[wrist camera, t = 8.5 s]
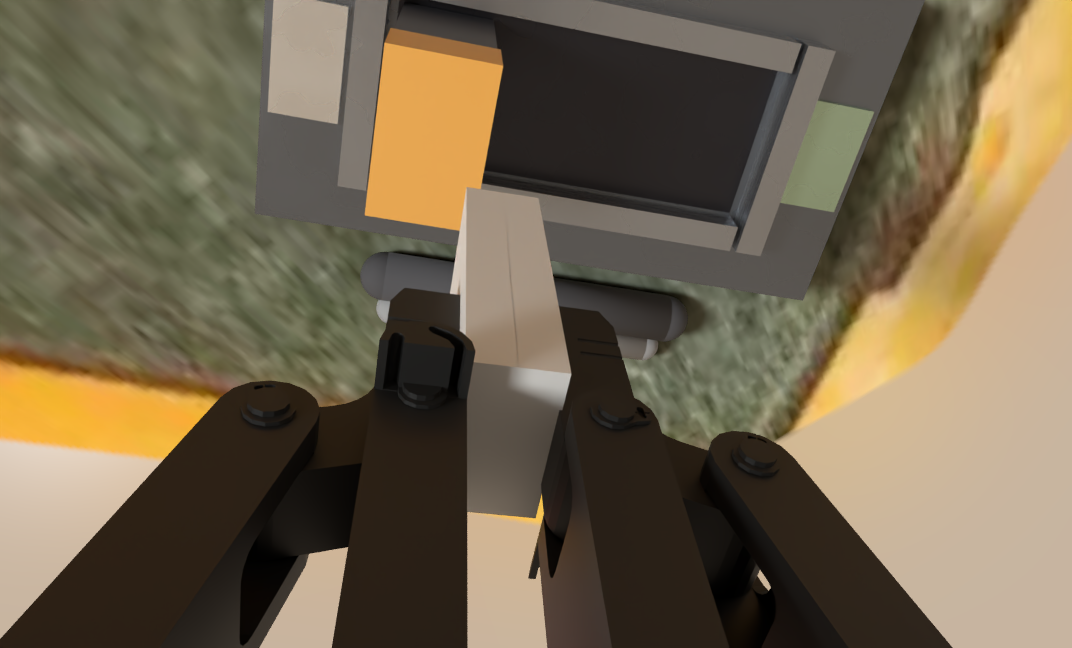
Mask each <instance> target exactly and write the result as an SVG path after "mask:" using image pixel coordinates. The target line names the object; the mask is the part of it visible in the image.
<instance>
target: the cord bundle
mask: <svg viewBox="0 0 1072 648" xmlns="http://www.w3.org/2000/svg"><path fill="white" fill-rule="evenodd" d="M454 264H455V262H450V261H443V260H437V259H430V258H424V257H417V256H411V255H404V254H398V253H392V252H379V253H376V254H374V255H372V256H370V257H369V258H368V259H367V260H366V261H365V263H364V264H363V266H362V269H361V276H360V277H361V283H362V286H363V288H364V289H365V291H366V292H367V293H368V294H369V295H370V296H372V297H374V298H376V299H379V301H378V303H377V313H378V316H379V317H380V319H381V320H382V321H384V322H385V323H387V319H388V312H389V306H390V300H391V299H392V298H394V297H395V296H396V295H397V294H398V293H399V292H400V291H401V290H403V289H404V288H411V289H419V290H426V291H434V292H441V293H449V294H450V290H451V284H452V277H453V271H454ZM553 279H554V284H555V289H556V294H557V300H558V305H559V306H562V307H570V308H577V309H585V310H592V311H599V312H600V313H601V314H602V316H603V317H604V318H605V319H606V320H607V321H608V322H609V323H610V324H611V325H612V326H613V327H614V330H615V334H616V337H617V341H618V346H619V347H620V351H621V354H622V357H623V358H630V359H637V360H646V359H649V358H651V357H652V356H653V355H654V354H655V353H656V351H657V349H658V341H671V340H673V339H676V338H677V337H679V336H680V335H681V334H682V333H683V332H684V330H685V328H686V326H687V321H688V315H687V311H686V309H685V307H684V305H683V304H682V303H681V302H680V301H679V300H678V299H676V298H674V297H672V296H668V295H662V294H656V293H649V292H643V291H636V290H630V289H623V288H617V287H610V286H604V285H598V284H591V283H585V282H578V281H572V280H565V279H559V278H553Z"/></svg>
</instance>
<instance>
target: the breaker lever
mask: <svg viewBox="0 0 1072 648" xmlns="http://www.w3.org/2000/svg"><path fill="white" fill-rule="evenodd" d="M502 70H503V61H502V54H501V49H497V41H496V33H495V26H494V20H490V19H485V18H480V17H475V16H470V15H465V14H460V13H455V12H450V11H445V10H441V9H436V8H431V7H426V6H421V5H416V4H411V3H406V2H404V4H403V7H402V10H401V12H400V15H399V17H398V20H397V22H396V25H395V28H390V31H389V33H388V35H387V38H386V40H385V43H384V52H383V61H382V69H381V78H380V87H379V95H378V104H377V113H376V121H375V130H374V139H373V147H372V156H371V164H370V173H369V182H368V190H367V199H366V208H365V216H371V217H378V218H384V219H390V220H396V221H402V222H409V223H415V224H421V225H427V226H433V227H440V228H446V229H452V230H458V231H460V226H461V220H462V213H463V207H464V200H465V194H466V188H467V187H469V188H476V189H481V184H482V178H483V173H484V168H485V162H486V157H487V151H488V146H489V140H490V135H491V130H492V124H493V119H494V113H495V108H496V102H497V97H498V91H499V86H500V81H501V75H502Z"/></svg>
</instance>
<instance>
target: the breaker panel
mask: <svg viewBox="0 0 1072 648" xmlns="http://www.w3.org/2000/svg"><path fill="white" fill-rule="evenodd" d="M924 1H925V0H265V14H264V35H263V56H262V77H261V98H260V118H259V139H258V160H257V181H256V202H255V214H261V215H267V216H273V217H280V218H286V219H292V220H299V221H305V222H311V223H318V224H324V225H330V226H337V227H343V228H349V229H355V230H362V231H368V232H374V233H381V234H387V235H393V236H400V237H406V238H412V239H419V240H425V241H431V242H437V243H444V244H450V245H456V246H457V245H458V239H459V232H460V231H458V230H452V229H446V228H440V227H433V226H427V225H421V224H415V223H409V222H402V221H396V220H390V219H384V218H378V217H371V216H365V208H366V199H367V190H368V182H369V173H370V164H371V156H372V147H373V139H374V130H375V121H376V113H377V104H378V95H379V87H380V78H381V69H382V61H383V52H384V43H385V40H386V38H387V35H388V33H389V31H390V28H395V25H396V22H397V20H398V17H399V15H400V12H401V10H402V7H403V4H404V2H406V3H411V4H416V5H421V6H426V7H431V8H436V9H441V10H445V11H450V12H455V13H460V14H465V15H470V16H475V17H480V18H485V19H490V20H494V26H495V33H496V41H497V49H501V54H502V61H503V70H502V75H501V81H500V86H499V91H498V97H497V102H496V108H495V113H494V119H493V124H492V130H491V135H490V140H489V146H488V151H487V157H486V162H485V168H484V173H483V178H482V184H481V189H483V190H489V191H496V192H502V193H509V194H515V195H522V196H528V197H535V198H538V199H539V204H540V209H541V215H542V220H543V225H544V231H545V236H546V241H547V247H548V252H549V257H550V260H551V261H557V262H564V263H570V264H576V265H582V266H589V267H595V268H601V269H608V270H614V271H620V272H627V273H633V274H639V275H646V276H652V277H658V278H664V279H671V280H677V281H683V282H690V283H696V284H702V285H709V286H715V287H721V288H728V289H734V290H740V291H746V292H753V293H759V294H765V295H772V296H778V297H784V298H791V299H797V300H803V299H804V296H805V294H806V292H807V289H808V287H809V284H810V282H811V279H812V277H813V274H814V272H815V269H816V267H817V264H818V262H819V260H820V257H821V255H822V252H823V250H824V247H825V245H826V242H827V240H828V237H829V235H830V233H831V230H832V228H833V225H834V223H835V220H836V218H837V215H838V213H839V210H840V208H841V205H842V203H843V201H844V198H845V196H846V193H847V191H848V188H849V186H850V183H851V181H852V178H853V176H854V173H855V171H856V169H857V166H858V164H859V161H860V159H861V156H862V154H863V151H864V149H865V146H866V144H867V142H868V139H869V137H870V134H871V132H872V129H873V127H874V124H875V122H876V119H877V117H878V114H879V112H880V110H881V107H882V105H883V102H884V100H885V97H886V95H887V92H888V90H889V87H890V85H891V82H892V80H893V78H894V75H895V73H896V70H897V68H898V65H899V63H900V60H901V58H902V55H903V53H904V51H905V48H906V46H907V43H908V41H909V38H910V36H911V33H912V31H913V28H914V26H915V23H916V21H917V19H918V16H919V14H920V11H921V9H922V6H923V4H924Z"/></svg>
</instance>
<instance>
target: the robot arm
mask: <svg viewBox="0 0 1072 648" xmlns="http://www.w3.org/2000/svg"><path fill="white" fill-rule="evenodd" d="M541 494H542V499H543V509H544V516H543V520H542V524H541V528H540V532H539V536H538V539H537V543H536V547H535V551H534V556H533V559H532V563H531V567H530V573H529V578H530V579H536V575H537V571H538V568H539V567H540V572H541V584H542V595H543V605H544V616H545V627H546V638H547V647H548V648H952V647H951V646H950V644H949V643H948V642H947V641H946V639H945V638H944V637H943V636H942V635H941V633H940V632H939V631H938V630H937V629H936V627H935V626H934V625H933V624H932V623H931V621H930V620H929V619H928V618H927V617H926V615H925V614H924V613H923V612H922V611H921V609H920V608H919V607H918V606H917V605H916V603H914V601H913V600H912V599H911V598H910V597H909V595H908V594H907V593H906V591H905V590H904V589H903V588H902V587H901V586H900V584H899V583H898V582H897V581H896V580H895V578H894V577H893V576H892V575H891V574H890V572H889V571H888V570H887V569H886V568H885V566H884V565H883V564H882V563H881V562H880V561H879V559H878V558H877V557H876V556H875V554H874V553H873V552H872V551H871V550H870V549H869V547H868V546H867V545H866V544H865V543H864V541H863V540H862V539H861V538H860V536H859V535H858V534H857V533H856V532H855V531H854V529H853V528H852V527H851V526H850V525H849V523H848V522H847V521H846V520H845V519H844V517H843V516H842V515H841V514H840V513H839V511H838V510H837V509H836V508H835V507H834V505H833V504H832V503H831V502H830V501H829V500H828V498H827V497H826V496H825V495H824V493H822V491H821V490H820V489H819V487H818V486H817V485H816V484H815V483H814V481H813V480H812V479H811V478H810V477H809V476H808V474H807V473H806V472H805V471H804V469H803V468H802V467H801V466H800V465H799V464H798V462H797V461H796V460H795V459H794V458H793V457H792V456H791V455H790V454H789V453H788V452H787V451H786V450H785V449H783V448H782V447H781V446H780V445H778V444H776V443H774V442H772V441H771V440H769V439H767V438H765V437H763V436H760V435H756V434H753V433H749V432H738V431H731V432H726V433H721V434H719V435H718V436H717V437H716V438H714V439H713V440H712V442H711V445H710V447H709V450H708V451H707V450H704V449H701V448H698V447H695V446H692V445H689V444H686V443H682V442H680V441H677V440H675V439H672V438H670V437H668V436H666V435H664V434H662V432H661V429H660V426H659V423H658V420H657V418H656V417H655V415H654V413H653V412H652V410H651V409H650V408H648V407H647V406H646V405H645V404H643V403H642V402H641V401H639V400H637V399H635V398H634V396H633V392H632V389H631V385H630V382H629V378H628V375H627V372H626V368H625V365H624V361H623V360H622V354H621V351H620V347H619V346H618V341H617V337H616V334H615V330H614V327H613V326H612V325H611V324H610V323H609V322H608V321H607V320H606V319H605V318H604V317H603V316H602V314H601V313H600V312H599V311H592V310H585V309H577V308H570V307H562V306H559V305H558V300H557V294H556V289H555V284H554V279H553V273H552V268H551V263H550V257H549V252H548V247H547V241H546V236H545V231H544V225H543V220H542V215H541V209H540V204H539V199H538V198H535V197H528V196H522V195H515V194H509V193H502V192H496V191H489V190H483V189H476V188H469V187H467V188H466V194H465V200H464V207H463V213H462V220H461V226H460V232H459V239H458V245H457V252H456V258H455V264H454V271H453V277H452V284H451V290H450V294H449V293H441V292H434V291H426V290H419V289H411V288H404V289H403V290H401V291H400V292H399V293H398V294H397V295H396V296H395V297H394V298H392V299H391V300H390V306H389V312H388V319H387V324H386V330H385V331H384V333H383V335H382V336H381V338H380V342H379V350H378V359H377V368H376V377H375V386H374V388H373V389H372V390H371V391H370V392H369V393H368V394H366V395H365V396H363V397H362V398H360V399H358V400H355V401H352V402H350V403H347V404H341V405H336V406H328V407H319V406H318V403H317V400H316V399H315V398H314V397H313V396H312V395H311V394H310V393H309V392H307V391H306V390H305V389H302V388H300V387H297V386H295V385H292V384H290V383H284V382H277V381H260V382H250V383H247V384H244V385H241V386H238V387H235V388H233V389H231V390H230V391H229V392H227V393H226V394H224V395H223V396H222V397H220V399H219V400H218V401H217V402H216V403H215V404H214V405H213V406H212V407H211V408H210V410H209V411H208V412H207V413H206V414H205V415H204V416H203V417H202V418H201V419H200V420H199V422H198V423H197V424H196V425H195V426H194V427H193V428H192V429H191V430H190V431H189V433H188V434H187V435H186V436H185V437H184V438H183V439H182V440H181V441H180V442H179V444H178V445H177V446H176V447H175V448H174V449H173V450H172V451H171V452H170V453H169V454H168V456H167V457H166V458H165V459H164V460H163V461H162V462H161V463H160V464H159V465H158V467H157V468H156V469H155V470H154V471H153V472H152V473H151V474H150V475H149V476H148V478H147V479H146V480H145V481H144V482H143V483H142V484H141V485H140V486H139V488H138V489H137V490H136V491H135V492H134V493H133V494H132V495H131V496H130V497H129V498H128V499H127V501H126V502H125V503H124V504H123V505H122V506H121V507H120V508H119V509H118V510H117V512H116V513H115V514H114V515H113V516H112V517H111V518H110V519H109V520H108V521H107V522H106V524H105V525H104V526H103V527H102V528H101V529H100V530H99V531H98V533H96V535H95V536H94V537H93V538H92V539H91V540H90V541H89V542H88V543H87V544H86V546H85V547H84V548H83V549H82V550H81V551H80V552H79V553H78V554H77V556H75V558H74V559H73V560H72V561H71V562H70V563H69V564H68V565H67V566H66V568H65V569H64V570H63V571H62V572H61V573H60V574H59V575H58V577H56V578H55V580H54V581H53V582H52V583H51V584H50V585H49V586H48V587H47V588H46V589H45V590H44V592H43V593H42V594H41V595H40V596H39V597H38V598H37V599H36V601H34V603H33V604H32V605H31V606H30V607H29V608H28V609H27V610H26V611H25V612H24V614H23V615H22V616H21V617H20V618H19V619H18V620H17V621H16V622H15V624H14V625H13V626H12V627H11V628H10V629H9V630H8V631H7V632H6V633H5V634H4V635H3V637H2V638H1V639H0V648H259V647H260V645H261V644H262V642H263V640H264V638H265V636H266V635H267V633H268V631H269V629H270V628H271V626H272V624H273V622H274V621H275V619H276V617H277V615H278V614H279V612H280V610H281V608H282V607H283V605H284V603H285V601H286V599H287V598H288V596H289V594H290V592H291V591H292V589H293V587H294V585H295V583H296V582H297V580H298V578H299V576H300V575H301V572H302V571H303V569H304V568H305V566H306V562H307V559H308V555H309V554H310V553H315V552H322V551H327V550H333V549H339V548H345V547H348V552H347V558H346V564H345V570H344V576H343V583H342V589H341V595H340V601H339V607H338V613H337V619H336V626H335V631H334V637H333V644H332V648H467V512H475V513H486V514H497V515H507V516H518V517H529V518H536V514H537V510H538V506H539V502H540V498H541ZM759 570H761V571H762V573H763V574H764V576H765V577H766V579H767V580H768V582H769V584H770V586H771V589H770V590H769V591H768V590H767V589H766V588H765V586H763V584H762V582H761V581H760V579H759V578H758V576H757V575H758V573H759Z"/></svg>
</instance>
